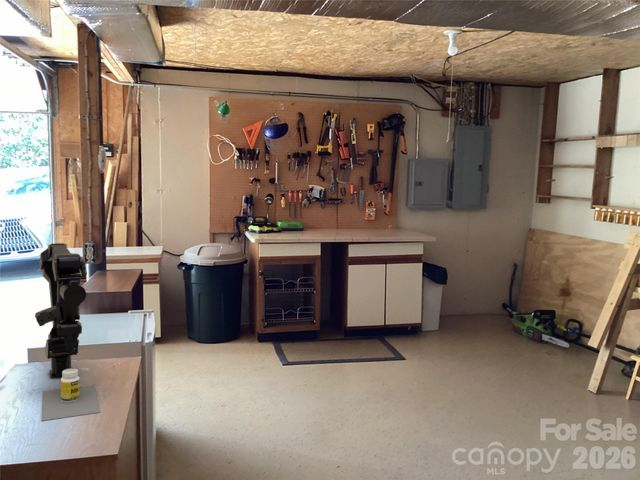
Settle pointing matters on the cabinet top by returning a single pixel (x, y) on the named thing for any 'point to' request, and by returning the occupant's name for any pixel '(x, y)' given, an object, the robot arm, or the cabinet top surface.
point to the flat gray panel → (69, 404)
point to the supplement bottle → (70, 385)
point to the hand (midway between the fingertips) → (69, 350)
